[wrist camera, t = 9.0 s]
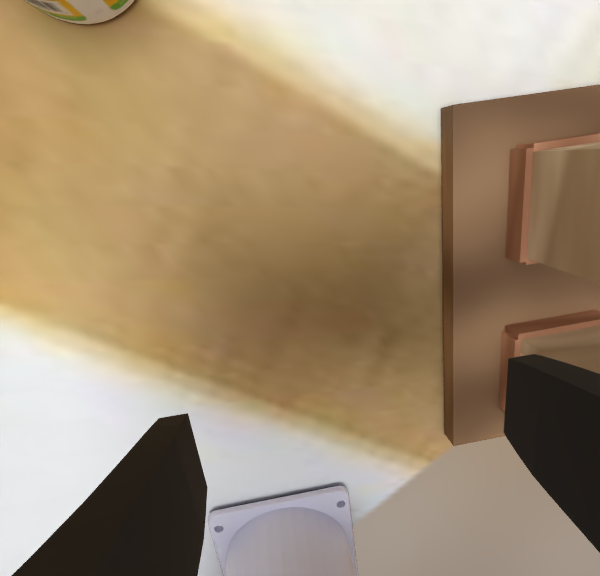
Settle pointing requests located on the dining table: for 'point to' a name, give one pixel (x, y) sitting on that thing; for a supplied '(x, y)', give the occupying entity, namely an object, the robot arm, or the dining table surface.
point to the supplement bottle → (82, 9)
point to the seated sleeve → (553, 342)
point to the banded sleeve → (556, 205)
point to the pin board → (496, 247)
